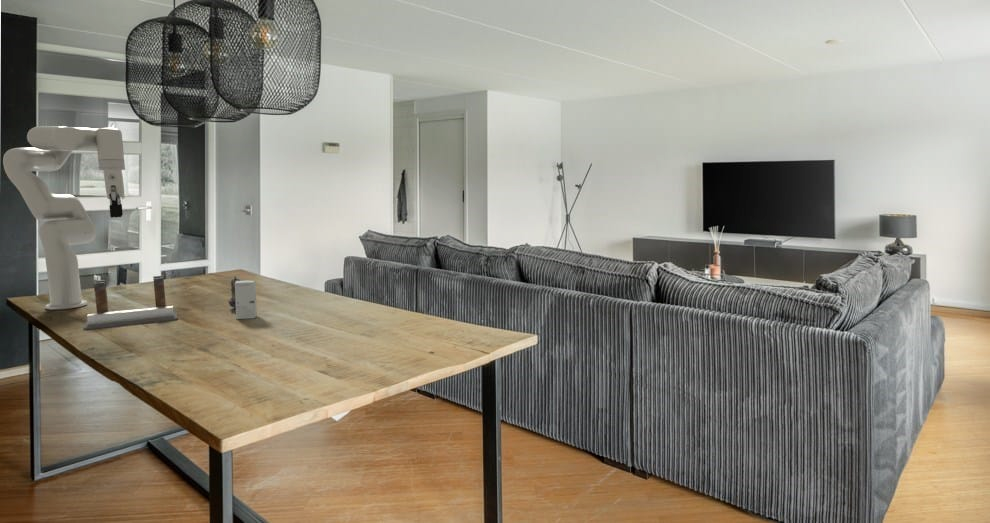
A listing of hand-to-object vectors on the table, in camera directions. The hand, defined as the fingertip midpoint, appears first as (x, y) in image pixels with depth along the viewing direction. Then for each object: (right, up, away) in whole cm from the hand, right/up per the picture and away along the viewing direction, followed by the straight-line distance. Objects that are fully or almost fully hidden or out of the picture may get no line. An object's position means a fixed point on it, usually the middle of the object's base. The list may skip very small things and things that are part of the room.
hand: (116, 216), depth 212 cm
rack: (+6, -34, -1) cm, 34 cm away
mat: (+11, -35, -10) cm, 38 cm away
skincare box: (+47, -34, -6) cm, 58 cm away
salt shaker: (+39, -33, +6) cm, 51 cm away
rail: (+11, -34, -10) cm, 37 cm away
